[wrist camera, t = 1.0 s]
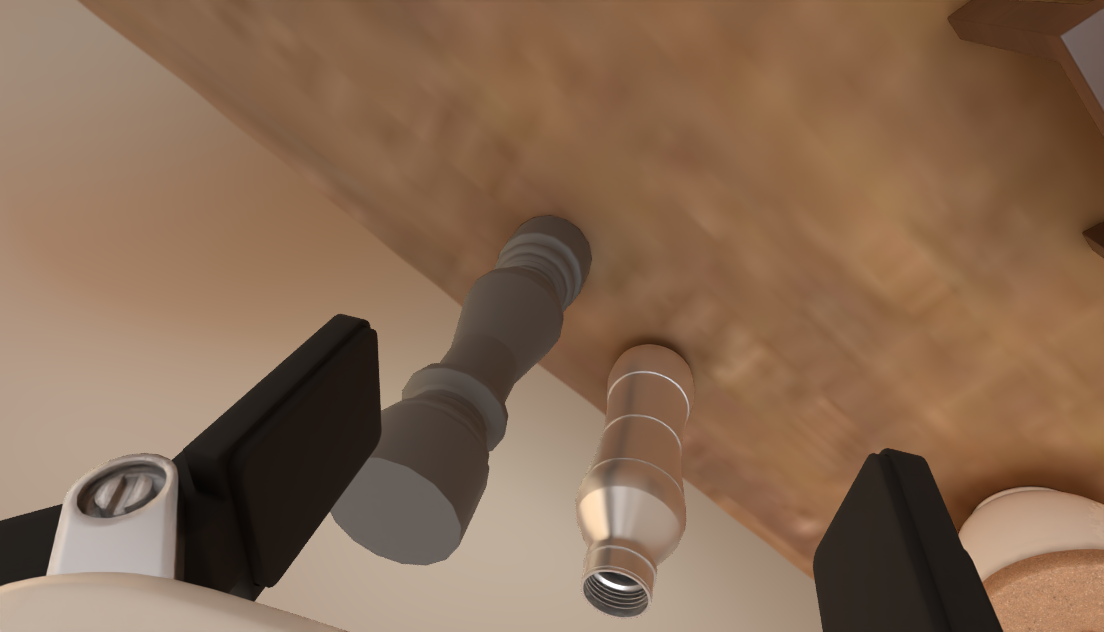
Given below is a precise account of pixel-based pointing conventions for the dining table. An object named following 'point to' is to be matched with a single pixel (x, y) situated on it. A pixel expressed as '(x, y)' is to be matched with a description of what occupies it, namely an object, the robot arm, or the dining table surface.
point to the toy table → (1047, 48)
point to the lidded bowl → (1040, 559)
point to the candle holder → (464, 401)
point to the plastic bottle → (635, 481)
